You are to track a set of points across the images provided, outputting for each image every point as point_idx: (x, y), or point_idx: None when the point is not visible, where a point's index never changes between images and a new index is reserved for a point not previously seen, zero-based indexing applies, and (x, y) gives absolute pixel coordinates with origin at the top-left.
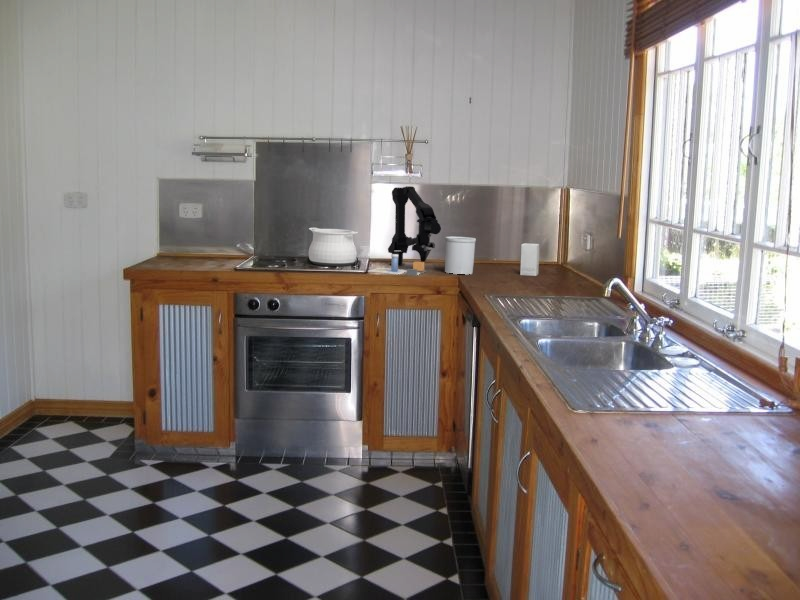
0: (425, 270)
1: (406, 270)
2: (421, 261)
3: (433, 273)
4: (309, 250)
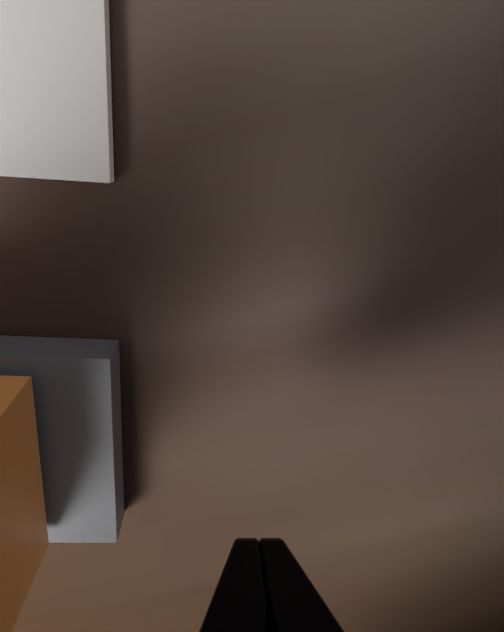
0: (111, 541)
1: (7, 133)
2: (216, 594)
3: (105, 625)
4: None
